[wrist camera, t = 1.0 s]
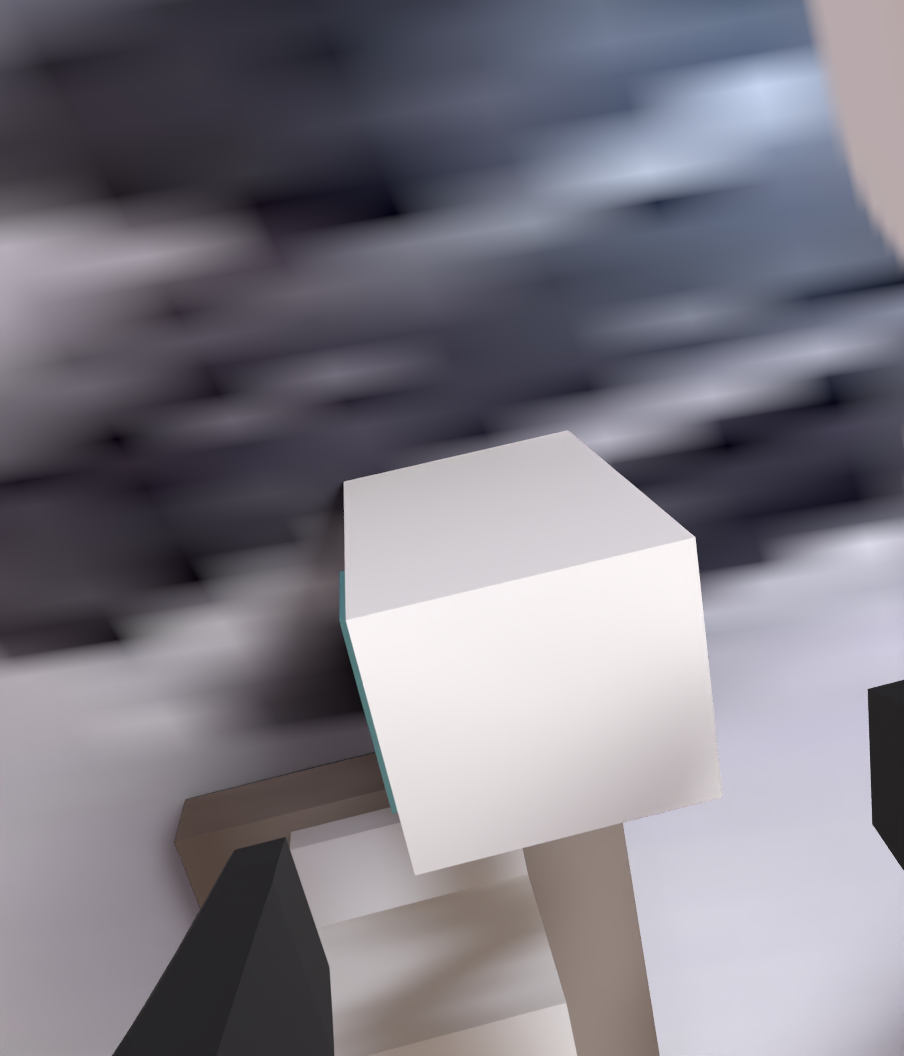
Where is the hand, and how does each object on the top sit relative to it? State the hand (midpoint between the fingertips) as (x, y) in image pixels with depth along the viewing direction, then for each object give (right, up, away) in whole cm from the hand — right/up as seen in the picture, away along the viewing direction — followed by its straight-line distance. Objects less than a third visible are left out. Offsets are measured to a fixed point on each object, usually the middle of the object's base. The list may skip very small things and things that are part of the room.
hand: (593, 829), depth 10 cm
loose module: (-1, +3, +9) cm, 10 cm away
